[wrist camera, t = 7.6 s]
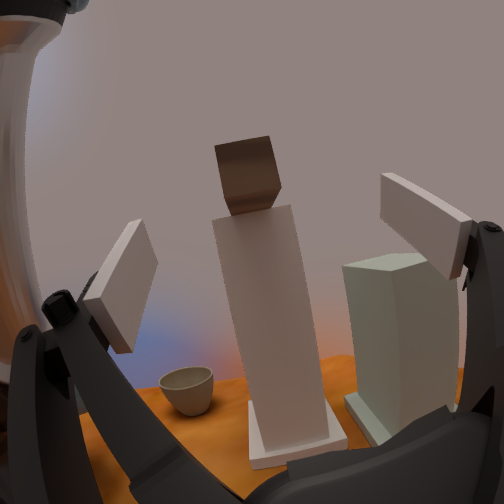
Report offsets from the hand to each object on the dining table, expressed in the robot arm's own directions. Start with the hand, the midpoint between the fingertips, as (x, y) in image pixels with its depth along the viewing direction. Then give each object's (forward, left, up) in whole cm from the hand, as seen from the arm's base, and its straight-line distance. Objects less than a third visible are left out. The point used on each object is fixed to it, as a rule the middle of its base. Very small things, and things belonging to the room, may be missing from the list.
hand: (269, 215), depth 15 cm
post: (+12, +17, -28) cm, 35 cm away
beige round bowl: (-22, +28, -28) cm, 45 cm away
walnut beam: (-3, +16, +2) cm, 17 cm away
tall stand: (-4, +20, -28) cm, 35 cm away
